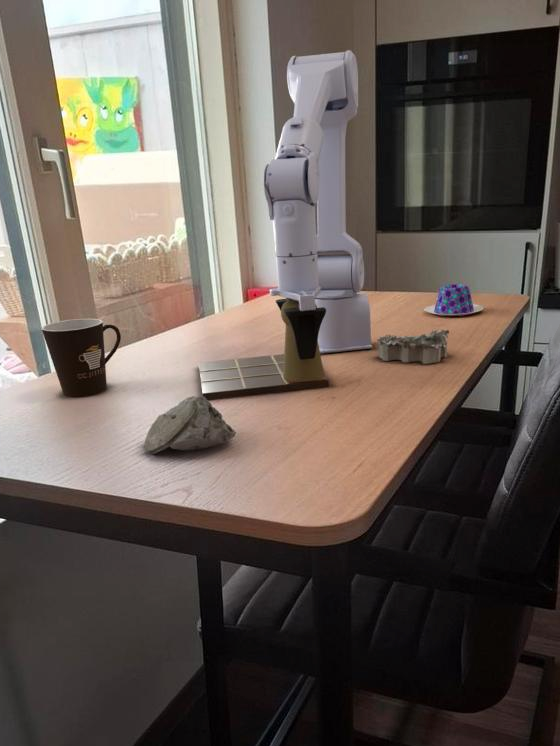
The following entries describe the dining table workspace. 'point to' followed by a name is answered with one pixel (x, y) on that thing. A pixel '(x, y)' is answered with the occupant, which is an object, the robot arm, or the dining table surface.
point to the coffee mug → (79, 355)
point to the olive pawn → (292, 363)
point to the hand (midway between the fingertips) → (302, 352)
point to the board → (249, 377)
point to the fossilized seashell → (188, 427)
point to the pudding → (454, 301)
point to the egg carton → (414, 347)
